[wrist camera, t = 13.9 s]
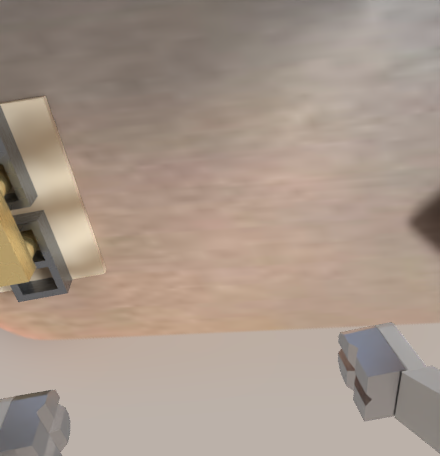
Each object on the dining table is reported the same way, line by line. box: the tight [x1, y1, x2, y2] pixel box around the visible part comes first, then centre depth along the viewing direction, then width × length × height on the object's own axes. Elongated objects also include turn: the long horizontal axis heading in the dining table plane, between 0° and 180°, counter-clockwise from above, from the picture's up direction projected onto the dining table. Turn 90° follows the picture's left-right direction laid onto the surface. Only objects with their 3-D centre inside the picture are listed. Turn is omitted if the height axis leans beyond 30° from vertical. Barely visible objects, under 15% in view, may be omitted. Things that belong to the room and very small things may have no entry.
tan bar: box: [0, 165, 39, 287], centre depth 36 cm, size 10×3×6 cm, turn 8°
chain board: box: [0, 96, 106, 293], centre depth 40 cm, size 20×13×1 cm, turn 8°
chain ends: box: [0, 105, 72, 302], centre depth 38 cm, size 20×5×2 cm, turn 8°
